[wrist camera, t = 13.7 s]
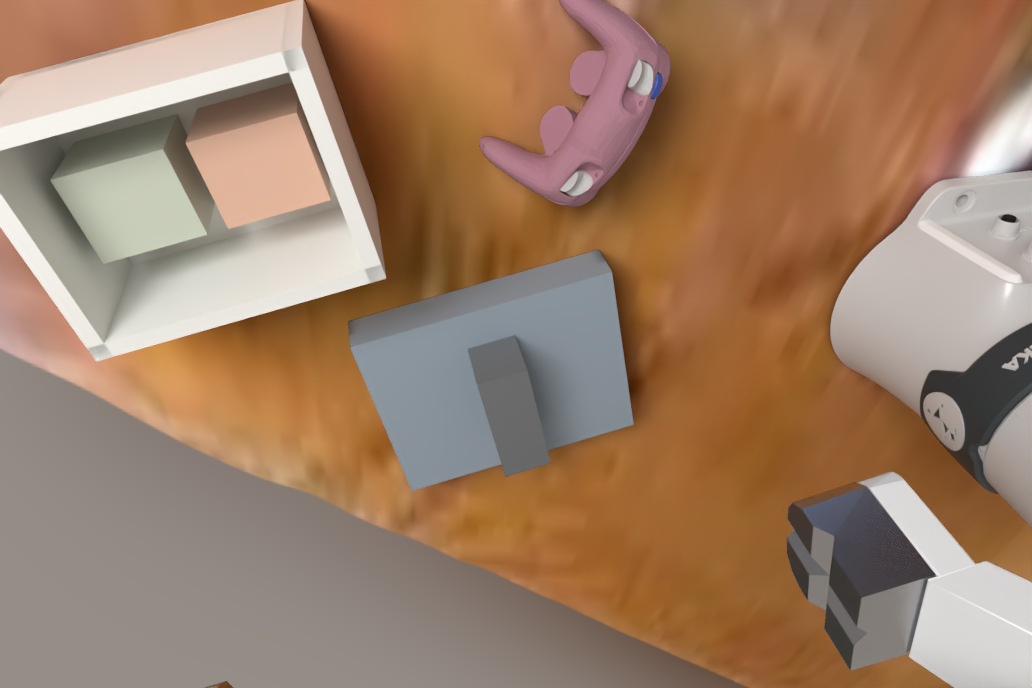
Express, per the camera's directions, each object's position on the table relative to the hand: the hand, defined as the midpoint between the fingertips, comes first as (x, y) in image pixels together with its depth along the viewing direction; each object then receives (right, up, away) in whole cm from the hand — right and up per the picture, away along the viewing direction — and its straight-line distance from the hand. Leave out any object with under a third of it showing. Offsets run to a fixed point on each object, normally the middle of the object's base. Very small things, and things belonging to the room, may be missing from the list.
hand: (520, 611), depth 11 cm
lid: (-1, +2, +40) cm, 40 cm away
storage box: (-16, +14, +28) cm, 35 cm away
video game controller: (+2, +18, +30) cm, 35 cm away
